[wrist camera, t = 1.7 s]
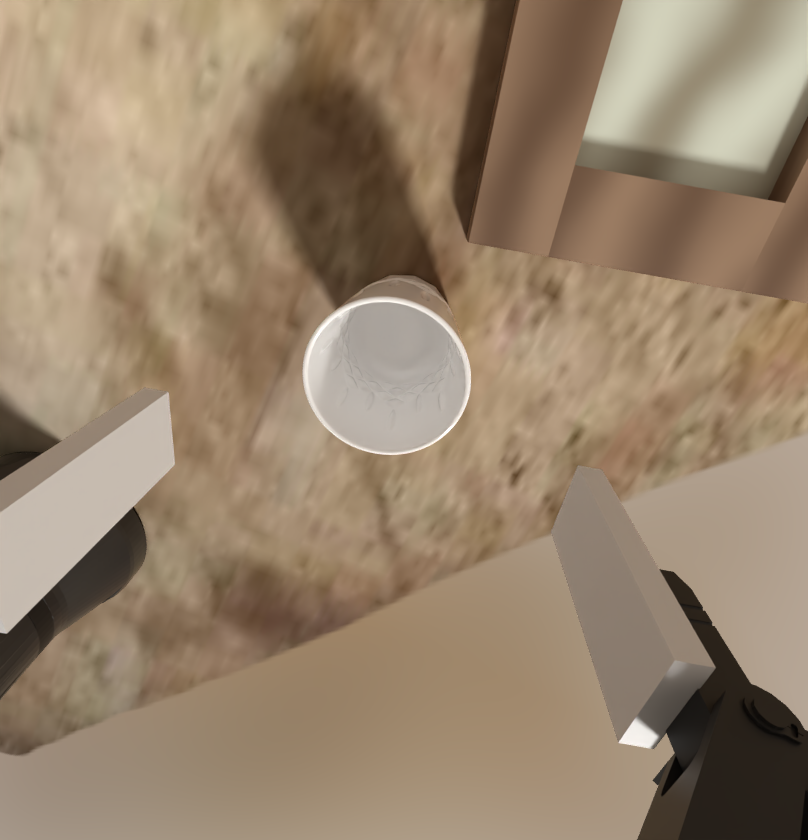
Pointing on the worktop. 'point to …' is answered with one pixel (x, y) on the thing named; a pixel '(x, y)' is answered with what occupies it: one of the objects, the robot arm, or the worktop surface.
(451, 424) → the white cup
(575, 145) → the wooden picture frame
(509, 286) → the worktop surface
